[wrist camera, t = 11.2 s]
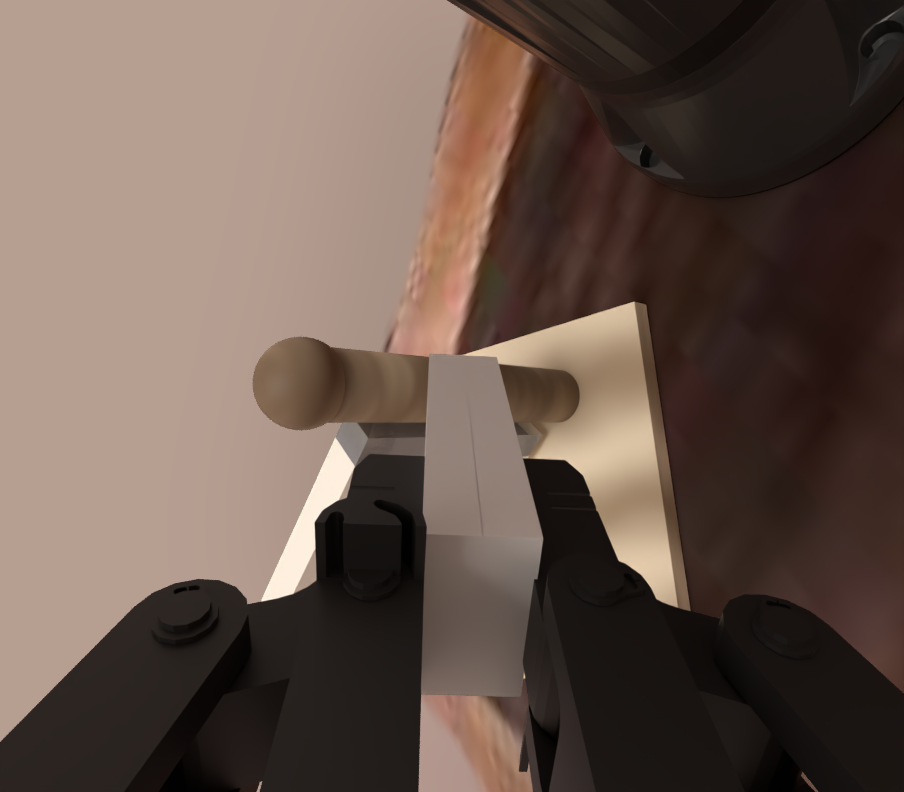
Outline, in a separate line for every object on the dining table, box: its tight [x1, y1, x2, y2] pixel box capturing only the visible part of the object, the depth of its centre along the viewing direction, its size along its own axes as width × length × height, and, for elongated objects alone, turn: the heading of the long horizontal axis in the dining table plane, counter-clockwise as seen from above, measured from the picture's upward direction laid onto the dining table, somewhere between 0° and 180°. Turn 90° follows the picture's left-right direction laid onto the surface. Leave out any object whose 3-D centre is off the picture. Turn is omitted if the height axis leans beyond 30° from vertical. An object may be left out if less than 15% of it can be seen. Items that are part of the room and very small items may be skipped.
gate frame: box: [253, 302, 691, 678], centre depth 31 cm, size 20×19×19 cm
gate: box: [261, 423, 542, 602], centre depth 35 cm, size 17×2×12 cm, turn 140°
